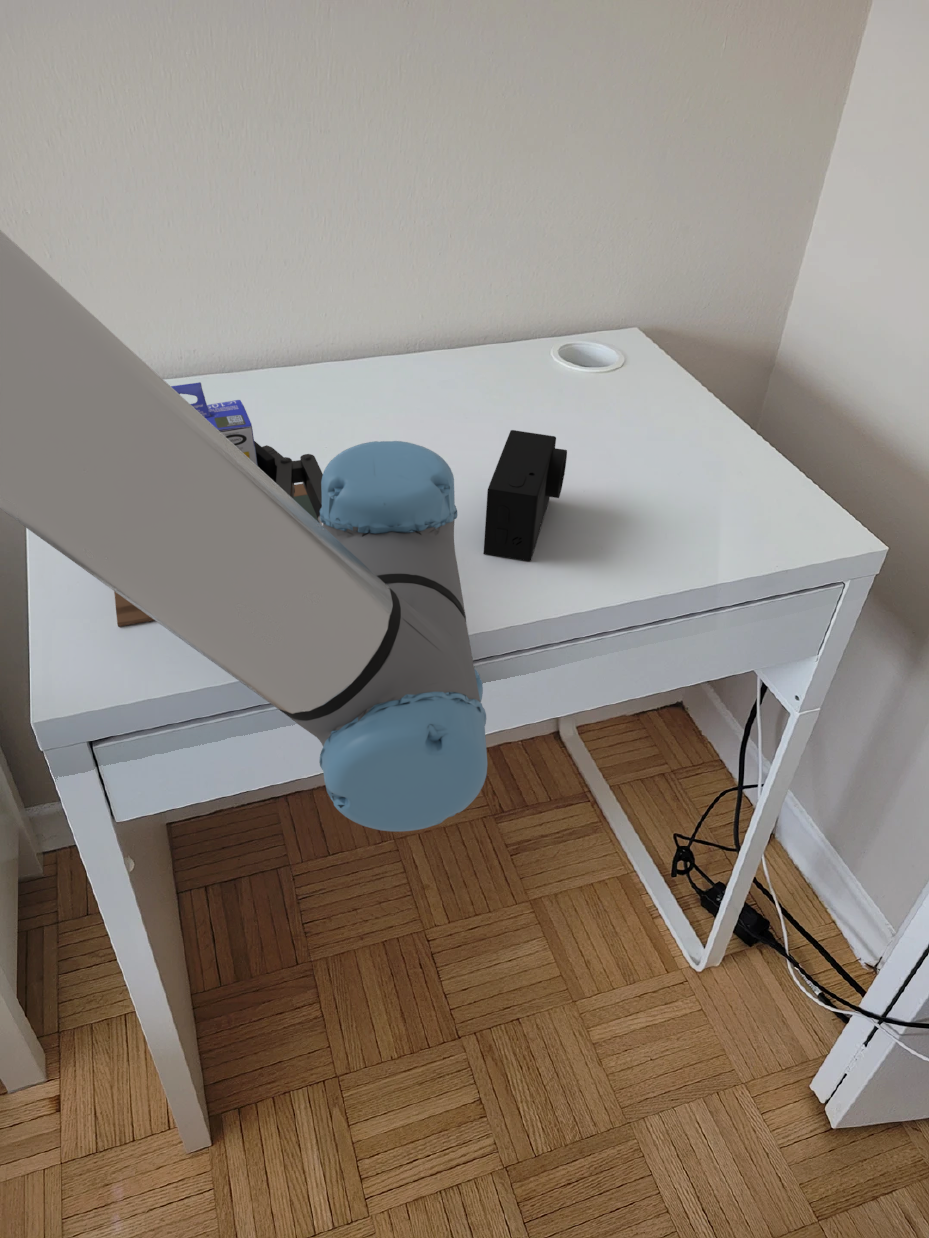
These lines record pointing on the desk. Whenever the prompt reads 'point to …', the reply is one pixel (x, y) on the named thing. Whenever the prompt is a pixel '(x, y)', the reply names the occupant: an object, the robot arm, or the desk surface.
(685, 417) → the desk surface
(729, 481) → the desk surface
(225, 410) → the ink cartridge box
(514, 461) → the digital camera
